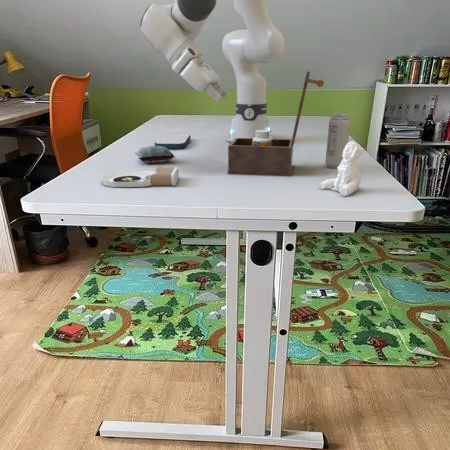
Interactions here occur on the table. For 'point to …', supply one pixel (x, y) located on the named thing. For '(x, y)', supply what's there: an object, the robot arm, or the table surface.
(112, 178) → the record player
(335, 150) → the energy drink can
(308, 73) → the chest lid
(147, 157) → the packaged food
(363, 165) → the table surface
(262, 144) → the supplement bottle
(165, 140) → the external hard drive
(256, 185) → the table surface
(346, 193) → the white creature statuette
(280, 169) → the chest
